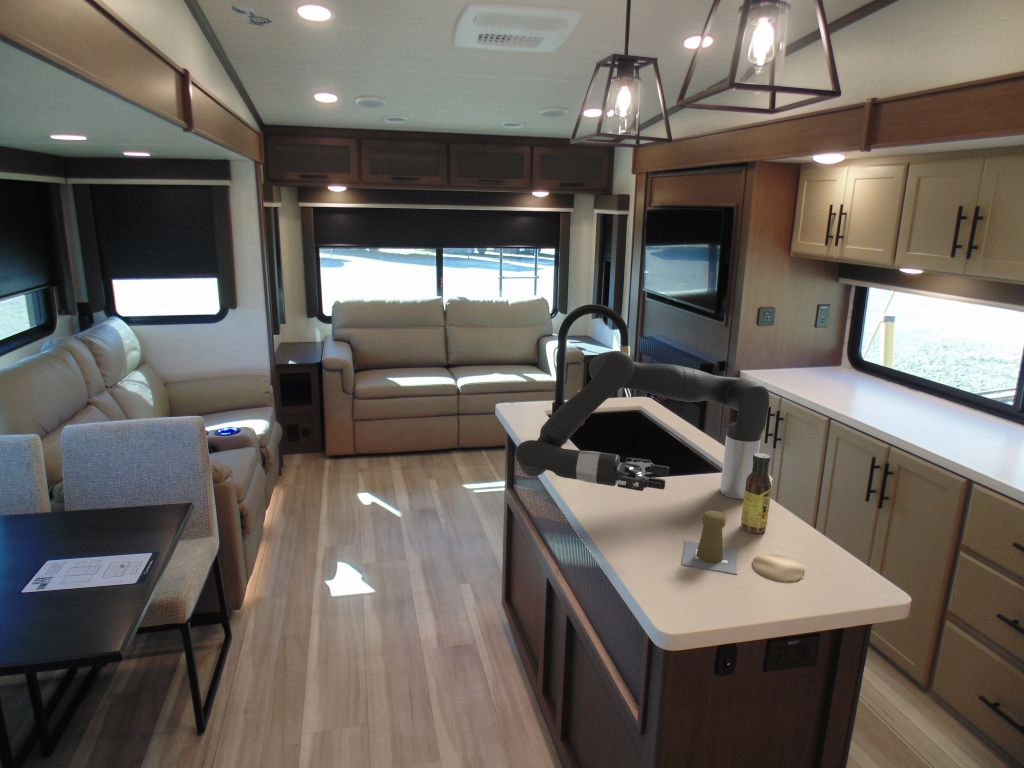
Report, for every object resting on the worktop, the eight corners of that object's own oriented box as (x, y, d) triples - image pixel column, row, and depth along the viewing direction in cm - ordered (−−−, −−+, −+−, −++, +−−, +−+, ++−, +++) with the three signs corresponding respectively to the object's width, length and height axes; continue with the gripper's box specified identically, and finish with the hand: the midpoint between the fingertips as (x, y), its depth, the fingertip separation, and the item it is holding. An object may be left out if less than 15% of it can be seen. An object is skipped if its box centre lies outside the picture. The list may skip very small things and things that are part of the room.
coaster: (752, 553, 159) (752, 550, 159) (802, 561, 156) (802, 558, 156) (753, 576, 149) (753, 573, 149) (806, 585, 146) (806, 583, 145)
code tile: (685, 541, 164) (685, 540, 164) (736, 549, 160) (736, 548, 160) (681, 565, 153) (681, 564, 153) (736, 574, 149) (736, 573, 149)
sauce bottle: (764, 536, 167) (774, 462, 162) (738, 531, 170) (747, 457, 165) (767, 526, 173) (776, 453, 168) (741, 521, 175) (750, 449, 170)
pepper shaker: (726, 563, 154) (731, 519, 151) (700, 562, 154) (704, 518, 151) (719, 550, 159) (723, 507, 157) (693, 549, 160) (697, 507, 157)
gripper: (592, 463, 153) (665, 473, 148) (604, 443, 166) (671, 452, 161) (590, 493, 154) (662, 505, 150) (602, 472, 168) (668, 481, 163)
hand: (666, 477), depth 155 cm, fingers open, 8 cm apart
